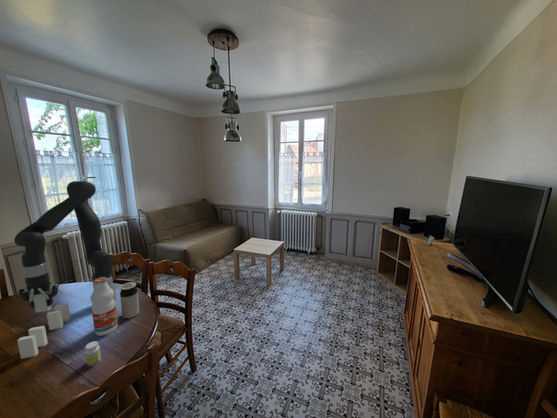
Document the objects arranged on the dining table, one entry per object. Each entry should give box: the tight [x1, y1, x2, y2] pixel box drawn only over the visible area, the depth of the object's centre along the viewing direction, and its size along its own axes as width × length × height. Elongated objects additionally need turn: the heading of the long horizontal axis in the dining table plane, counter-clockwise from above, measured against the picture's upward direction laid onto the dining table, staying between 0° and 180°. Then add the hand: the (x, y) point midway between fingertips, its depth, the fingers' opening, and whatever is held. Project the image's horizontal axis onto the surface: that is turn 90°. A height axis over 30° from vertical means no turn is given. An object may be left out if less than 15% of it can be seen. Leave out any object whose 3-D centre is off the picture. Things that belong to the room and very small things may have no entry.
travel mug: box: [119, 281, 140, 319], centre depth 121 cm, size 8×8×18 cm
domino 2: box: [33, 294, 52, 313], centre depth 103 cm, size 2×5×9 cm, turn 108°
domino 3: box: [28, 325, 49, 348], centre depth 99 cm, size 2×5×9 cm, turn 108°
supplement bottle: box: [84, 340, 102, 367], centre depth 91 cm, size 5×5×8 cm
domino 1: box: [17, 335, 39, 360], centre depth 93 cm, size 2×5×9 cm, turn 108°
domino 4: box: [46, 310, 64, 331], centre depth 110 cm, size 2×5×9 cm, turn 108°
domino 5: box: [54, 303, 71, 322], centre depth 116 cm, size 2×5×9 cm, turn 108°
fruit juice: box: [90, 277, 119, 337], centre depth 108 cm, size 9×9×28 cm
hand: (42, 305), depth 103 cm, fingers closed on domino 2, 4 cm apart
